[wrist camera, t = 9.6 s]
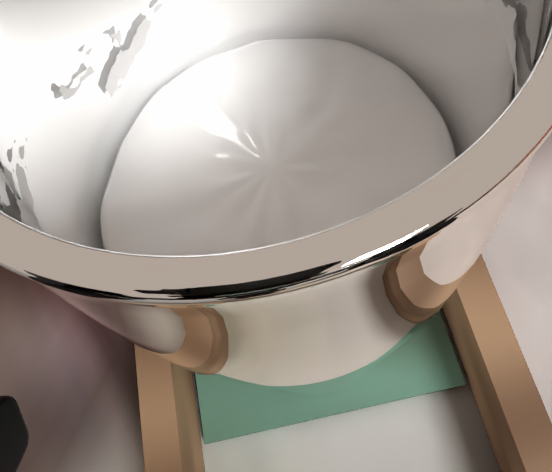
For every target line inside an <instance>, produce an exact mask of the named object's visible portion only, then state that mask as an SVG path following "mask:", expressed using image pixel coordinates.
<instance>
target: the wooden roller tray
mask: <svg viewBox="0 0 552 472" xmlns="http://www.w3.org/2000/svg"><path fill="white" fill-rule="evenodd" d="M442 309H443V312H444V315H445V318H446V320H447V323H448V326H449V329H450V332H451V334H452V337H453V340H454V343H455V345H456V348H457V351H458V354H459V357H460V359H461V362H462V365H463V368H464V370H465V373H466V376H467V379H468V381H469V384H470V387H471V390H472V393H473V395H474V398H475V401H476V404H477V406H478V409H479V412H480V415H481V418H482V420H483V423H484V426H485V429H486V431H487V434H488V437H489V440H490V442H491V445H492V448H493V451H494V454H495V456H496V459H497V462H498V465H499V467H500V470H501V472H552V423H551V421H550V419H549V416H548V414H547V411H546V409H545V407H544V404H543V402H542V399H541V397H540V395H539V392H538V390H537V387H536V385H535V383H534V380H533V378H532V375H531V373H530V371H529V368H528V366H527V363H526V361H525V359H524V356H523V354H522V351H521V349H520V346H519V344H518V342H517V339H516V337H515V334H514V332H513V330H512V327H511V325H510V322H509V320H508V318H507V315H506V313H505V310H504V308H503V306H502V303H501V301H500V298H499V296H498V294H497V291H496V289H495V286H494V284H493V282H492V279H491V277H490V274H489V272H488V270H487V267H486V265H485V262H484V260H483V258H482V255H481V254H480V255H479V257H478V259H477V260H476V262H475V263H474V265H473V266H472V267H471V269H470V270H469V272H468V273H467V274H466V276H465V277H464V278H463V280H462V281H461V283H460V284H459V285H458V287H457V288H456V289H455V291H454V292H453V294H452V295H451V296H450V298H449V299H448V300H447V302H446V303H445V304H444V305H443V307H442ZM134 346H135V358H136V370H137V382H138V394H139V406H140V418H141V430H142V442H143V455H144V467H145V472H205V468H204V461H203V453H202V445H201V438H200V430H199V422H198V414H197V407H196V399H195V391H194V384H193V376H192V371H189V370H187V369H185V368H182V367H180V366H178V365H176V364H174V363H172V362H170V361H168V360H165V359H163V358H161V357H159V356H157V355H155V354H153V353H151V352H149V351H147V350H145V349H143V348H141V347H139V346H137V345H135V344H134ZM195 376H196V383H197V391H198V399H199V406H200V414H201V421H202V429H203V436H204V444H208V443H212V442H217V441H221V440H226V439H230V438H234V437H239V436H243V435H248V434H252V433H256V432H261V431H265V430H270V429H274V428H278V427H283V426H287V425H291V424H296V423H300V422H305V421H309V420H313V419H318V418H322V417H327V416H331V415H335V414H340V413H344V412H349V411H353V410H357V409H362V408H366V407H371V406H375V405H379V404H384V403H388V402H393V401H397V400H401V399H406V398H410V397H415V396H419V395H423V394H428V393H432V392H436V391H441V390H445V389H450V388H454V387H458V386H463V385H466V383H465V380H464V377H463V375H462V372H461V369H460V366H459V363H458V361H457V358H456V355H455V352H454V349H453V347H452V344H451V341H450V338H449V336H448V333H447V330H446V327H445V324H444V322H443V319H442V316H441V313H440V310H439V311H438V312H437V314H436V315H435V316H434V317H433V318H432V319H431V320H430V321H429V322H428V323H427V324H426V325H425V326H424V327H423V328H421V329H420V330H419V331H418V332H417V333H416V334H415V335H414V336H412V337H411V338H410V339H409V340H408V341H407V342H406V343H404V344H403V345H402V346H401V347H400V348H398V349H397V350H396V351H394V352H393V353H392V354H390V355H389V356H387V357H386V358H384V359H383V360H381V361H380V362H378V363H376V364H374V365H373V366H372V367H371V368H370V369H369V370H368V371H367V372H366V373H365V374H364V375H363V376H362V377H361V378H360V379H358V380H357V381H355V382H354V383H352V384H351V385H349V386H347V387H345V388H343V389H341V390H338V391H335V392H332V393H328V394H322V395H299V394H294V393H290V392H286V391H283V390H281V389H265V388H256V387H250V386H244V385H239V384H235V383H230V382H226V381H221V380H217V379H213V378H210V377H206V376H203V375H200V374H197V373H195Z"/></svg>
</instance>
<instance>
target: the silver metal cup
mask: <svg viewBox="0 0 552 472" xmlns="http://www.w3.org/2000/svg"><path fill="white" fill-rule="evenodd" d="M551 132H552V0H0V266H1V267H3V268H5V269H7V270H9V271H12V272H14V273H16V274H18V275H21V276H23V277H25V278H28V279H30V280H33V281H36V282H37V283H39V284H41V285H42V286H44V287H45V288H47V289H49V290H50V291H52V292H53V293H55V294H56V295H58V296H59V297H61V298H62V299H64V300H65V301H67V302H68V303H70V304H71V305H73V306H74V307H76V308H77V309H79V310H80V311H81V312H83V313H84V314H86V315H87V316H89V317H91V318H92V319H94V320H96V321H97V322H99V323H101V324H102V325H104V326H105V327H107V328H109V329H110V330H112V331H114V332H115V333H117V334H119V335H120V336H122V337H124V338H125V339H127V340H129V341H130V342H132V343H134V344H135V345H137V346H139V347H141V348H143V349H145V350H147V351H149V352H151V353H153V354H155V355H157V356H159V357H161V358H163V359H165V360H168V361H170V362H172V363H174V364H176V365H178V366H180V367H182V368H185V369H187V370H189V371H192V372H195V373H197V374H200V375H203V376H206V377H210V378H213V379H217V380H221V381H226V382H230V383H235V384H239V385H244V386H250V387H256V388H265V389H281V390H283V391H286V392H290V393H294V394H299V395H322V394H328V393H332V392H335V391H338V390H341V389H343V388H345V387H347V386H349V385H351V384H352V383H354V382H355V381H357V380H358V379H360V378H361V377H362V376H363V375H364V374H365V373H366V372H367V371H368V370H369V369H370V368H371V367H372V366H373V365H374V364H376V363H378V362H380V361H381V360H383V359H384V358H386V357H387V356H389V355H390V354H392V353H393V352H394V351H396V350H397V349H398V348H400V347H401V346H402V345H403V344H404V343H406V342H407V341H408V340H409V339H410V338H411V337H412V336H414V335H415V334H416V333H417V332H418V331H419V330H420V329H421V328H423V327H424V326H425V325H426V324H427V323H428V322H429V321H430V320H431V319H432V318H433V317H434V316H435V315H436V314H437V312H438V311H439V310H440V309H441V308H442V307H443V305H444V304H445V303H446V302H447V300H448V299H449V298H450V296H451V295H452V294H453V292H454V291H455V289H456V288H457V287H458V285H459V284H460V283H461V281H462V280H463V278H464V277H465V276H466V274H467V273H468V272H469V270H470V269H471V267H472V266H473V265H474V263H475V262H476V260H477V259H478V257H479V255H480V254H481V252H482V250H483V249H484V247H485V245H486V243H487V242H488V240H489V238H490V236H491V235H492V233H493V231H494V230H495V228H496V226H497V224H498V223H499V221H500V219H501V217H502V216H503V214H504V212H505V210H506V208H507V207H508V205H509V203H510V201H511V199H512V197H513V195H514V193H515V191H516V190H517V188H518V186H519V184H520V182H521V180H522V178H523V176H524V174H525V172H526V170H527V168H528V166H529V164H530V163H531V161H532V159H533V157H534V155H535V153H536V152H537V150H538V148H539V147H540V146H541V145H542V144H543V142H544V141H545V140H546V139H547V138H548V136H549V135H550V134H551Z"/></svg>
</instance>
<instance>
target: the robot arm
mask: <svg viewBox="0 0 552 472" xmlns="http://www.w3.org/2000/svg"><path fill="white" fill-rule="evenodd" d="M28 439H29V436H28V430H27V428H26V425H25V422H24V420H23V417H22V414H21V412H20V409H19V406H18V404H17V402H16V400H15V399H14V398H13V397H11V396H0V472H16V471H17V469H18V467H19V464H20V462H21V460H22V458H23V455H24V453H25V451H26V448H27V445H28Z"/></svg>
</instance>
